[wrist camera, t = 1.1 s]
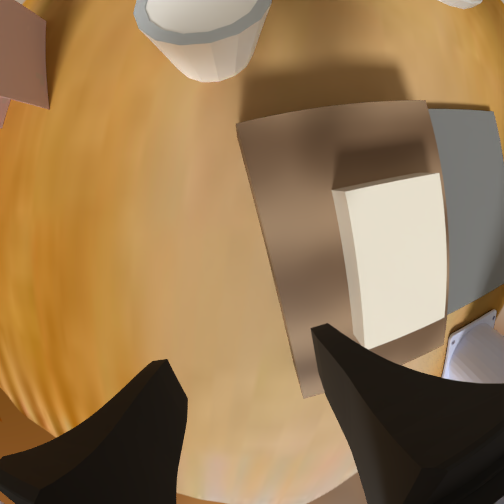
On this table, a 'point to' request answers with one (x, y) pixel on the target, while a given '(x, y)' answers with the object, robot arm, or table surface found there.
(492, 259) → the mat
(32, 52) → the greeting card
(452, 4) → the dish
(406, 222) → the tile
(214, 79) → the white cup
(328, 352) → the robot arm
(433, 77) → the table surface
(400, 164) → the platform
